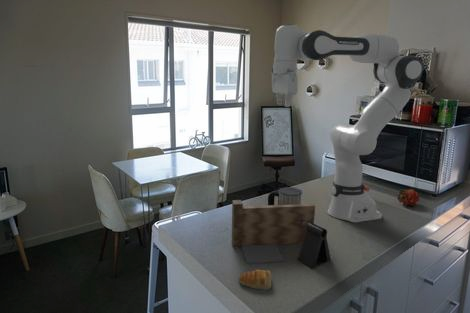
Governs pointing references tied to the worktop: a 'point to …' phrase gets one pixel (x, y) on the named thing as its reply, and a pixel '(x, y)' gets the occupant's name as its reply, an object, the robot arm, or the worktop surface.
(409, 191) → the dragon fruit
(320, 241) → the phone stand
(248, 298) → the worktop surface
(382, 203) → the worktop surface
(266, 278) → the pastry
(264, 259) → the door mat
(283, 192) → the milk frother
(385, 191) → the worktop surface
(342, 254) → the worktop surface
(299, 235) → the door panel
